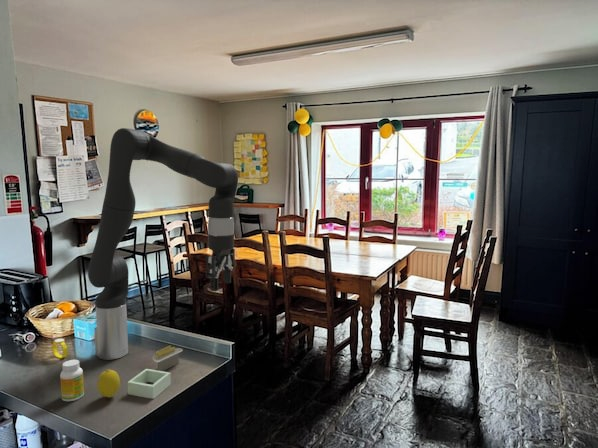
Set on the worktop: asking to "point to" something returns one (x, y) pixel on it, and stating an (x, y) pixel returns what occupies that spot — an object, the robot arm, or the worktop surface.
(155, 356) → the butter dish
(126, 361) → the worktop surface
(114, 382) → the lemon
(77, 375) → the supplement bottle
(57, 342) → the watch
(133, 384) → the pale green open box
